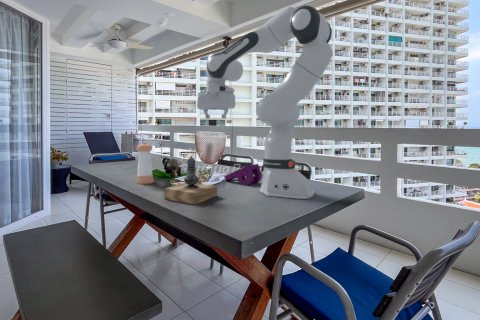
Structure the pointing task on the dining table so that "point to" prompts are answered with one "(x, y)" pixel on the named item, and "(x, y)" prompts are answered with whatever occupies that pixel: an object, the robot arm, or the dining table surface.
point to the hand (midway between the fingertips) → (215, 118)
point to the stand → (190, 193)
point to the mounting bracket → (247, 172)
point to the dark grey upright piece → (191, 175)
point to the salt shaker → (144, 164)
